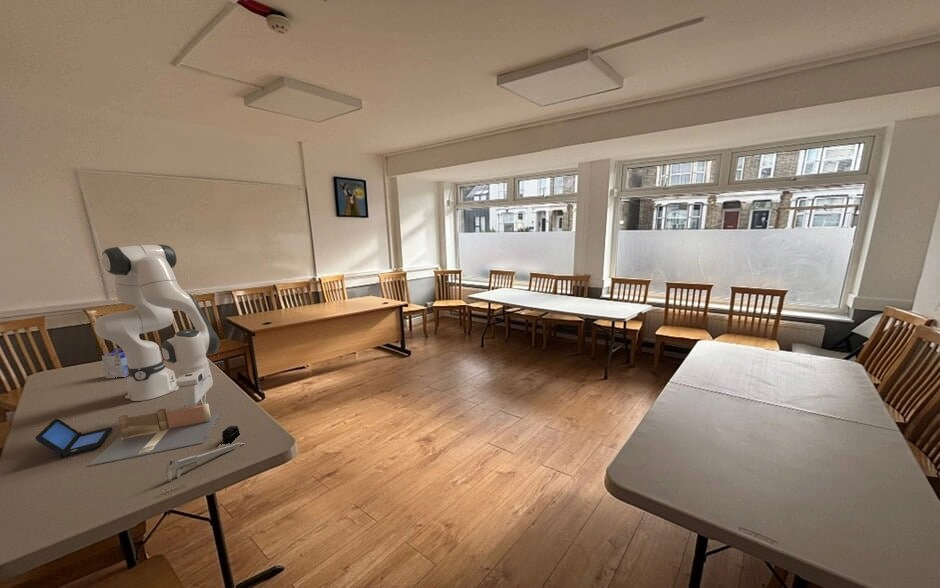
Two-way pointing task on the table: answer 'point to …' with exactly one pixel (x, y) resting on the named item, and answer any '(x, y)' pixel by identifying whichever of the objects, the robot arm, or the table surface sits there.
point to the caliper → (194, 460)
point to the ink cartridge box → (115, 364)
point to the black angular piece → (230, 434)
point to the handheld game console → (71, 439)
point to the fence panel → (188, 416)
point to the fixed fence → (143, 423)
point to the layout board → (156, 441)
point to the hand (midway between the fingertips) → (201, 406)
